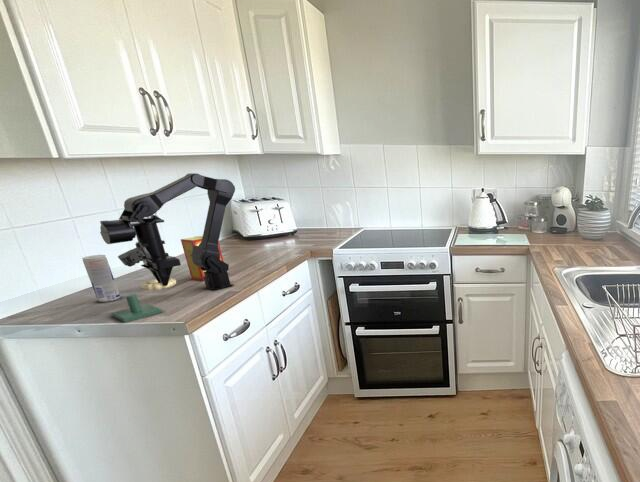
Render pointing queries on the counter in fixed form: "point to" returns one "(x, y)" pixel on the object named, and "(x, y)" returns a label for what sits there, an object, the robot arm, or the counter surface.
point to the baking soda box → (188, 249)
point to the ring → (157, 284)
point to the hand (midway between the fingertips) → (163, 285)
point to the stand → (135, 310)
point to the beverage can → (101, 278)
